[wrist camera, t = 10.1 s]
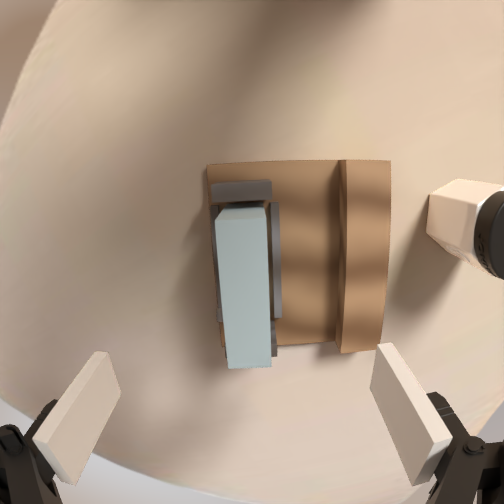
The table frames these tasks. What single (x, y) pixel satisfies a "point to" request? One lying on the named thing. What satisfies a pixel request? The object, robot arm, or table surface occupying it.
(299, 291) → the brown piece
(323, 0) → the table surface
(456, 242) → the jar
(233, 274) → the door
